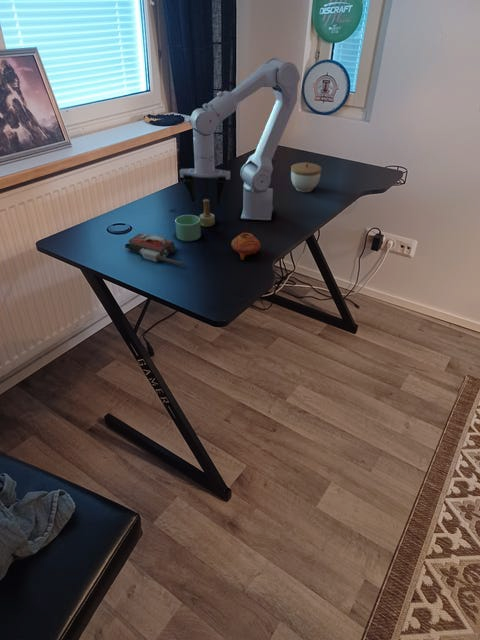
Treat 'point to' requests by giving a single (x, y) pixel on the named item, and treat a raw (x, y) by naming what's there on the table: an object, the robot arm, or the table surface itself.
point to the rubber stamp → (207, 215)
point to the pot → (245, 244)
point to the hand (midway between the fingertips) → (206, 201)
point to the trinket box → (305, 176)
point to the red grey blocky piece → (152, 248)
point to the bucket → (188, 227)
